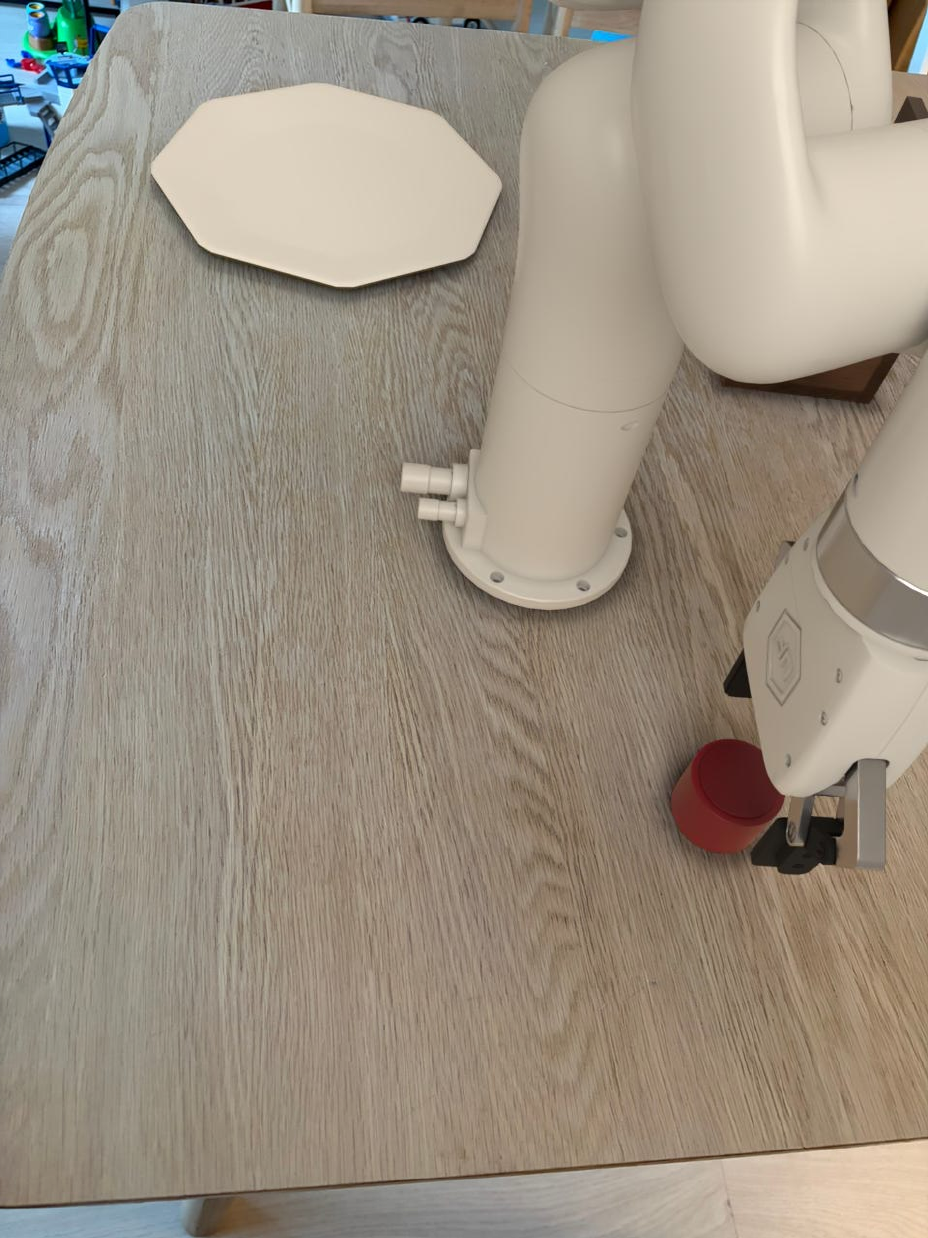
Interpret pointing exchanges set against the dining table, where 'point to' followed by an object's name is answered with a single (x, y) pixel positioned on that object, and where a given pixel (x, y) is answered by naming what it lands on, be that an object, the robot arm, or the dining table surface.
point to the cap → (725, 797)
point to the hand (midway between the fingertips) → (764, 772)
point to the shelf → (855, 378)
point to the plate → (327, 185)
